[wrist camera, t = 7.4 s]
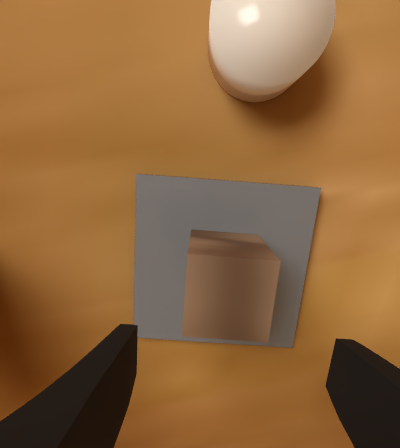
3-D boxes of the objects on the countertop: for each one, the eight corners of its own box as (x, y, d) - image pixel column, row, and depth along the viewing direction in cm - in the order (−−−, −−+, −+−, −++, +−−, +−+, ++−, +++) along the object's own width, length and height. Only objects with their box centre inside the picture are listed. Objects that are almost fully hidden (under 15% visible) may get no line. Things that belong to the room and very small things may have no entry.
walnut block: (186, 290, 18) (181, 336, 13) (191, 229, 17) (187, 253, 12) (249, 294, 18) (268, 342, 13) (257, 234, 17) (280, 260, 12)
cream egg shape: (204, 99, 16) (205, 79, 12) (212, -12, 15) (215, -67, 11) (297, 106, 16) (323, 89, 13) (312, -3, 15) (347, -55, 11)
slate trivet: (136, 330, 19) (133, 337, 19) (139, 173, 17) (136, 173, 16) (288, 340, 20) (292, 348, 19) (315, 187, 17) (321, 187, 16)
